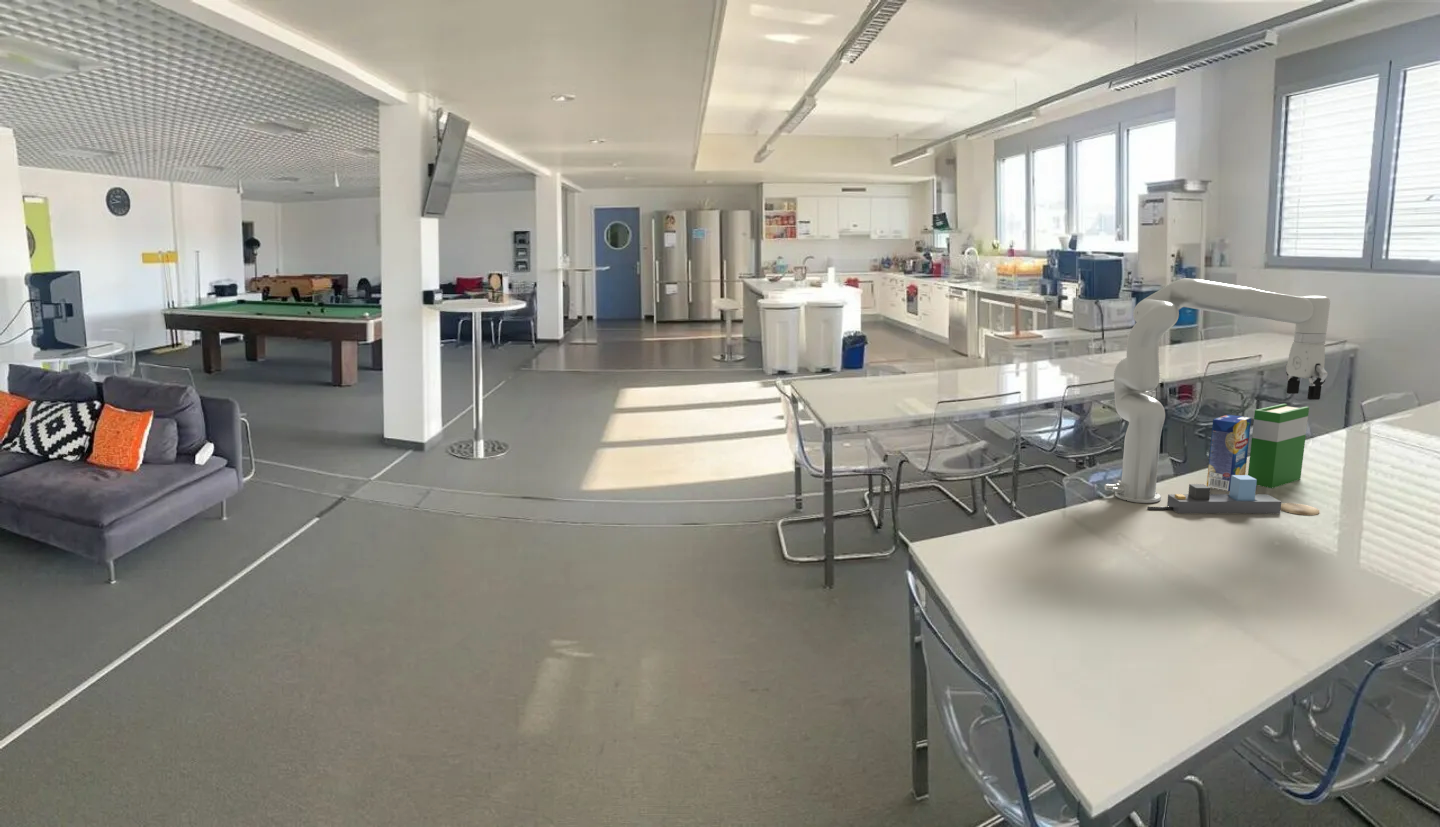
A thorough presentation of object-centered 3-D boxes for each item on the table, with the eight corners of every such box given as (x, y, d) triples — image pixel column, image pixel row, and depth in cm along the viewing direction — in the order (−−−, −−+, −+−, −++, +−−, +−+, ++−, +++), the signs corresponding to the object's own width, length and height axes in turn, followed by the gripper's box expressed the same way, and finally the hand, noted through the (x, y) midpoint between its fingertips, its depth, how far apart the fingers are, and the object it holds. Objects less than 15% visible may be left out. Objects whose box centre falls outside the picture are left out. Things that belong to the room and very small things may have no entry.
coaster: (1290, 515, 232) (1290, 513, 232) (1269, 504, 242) (1270, 503, 242) (1327, 515, 232) (1327, 513, 232) (1305, 504, 241) (1305, 503, 241)
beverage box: (1244, 484, 262) (1251, 417, 257) (1229, 491, 255) (1237, 422, 251) (1220, 480, 267) (1227, 414, 263) (1206, 487, 260) (1212, 419, 256)
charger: (1237, 506, 236) (1240, 479, 234) (1228, 501, 240) (1231, 475, 239) (1253, 506, 235) (1256, 479, 234) (1244, 501, 240) (1247, 475, 238)
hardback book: (1275, 474, 272) (1283, 403, 268) (1300, 479, 266) (1309, 407, 261) (1247, 482, 264) (1254, 410, 259) (1271, 488, 257) (1280, 413, 253)
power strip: (1153, 513, 237) (1155, 489, 235) (1142, 506, 244) (1144, 482, 242) (1280, 513, 234) (1282, 489, 233) (1265, 505, 241) (1268, 482, 239)
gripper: (1278, 335, 247) (1272, 391, 251) (1315, 342, 230) (1308, 402, 234) (1304, 335, 247) (1297, 391, 250) (1343, 341, 230) (1335, 401, 233)
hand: (1302, 396), depth 242 cm, fingers open, 9 cm apart
